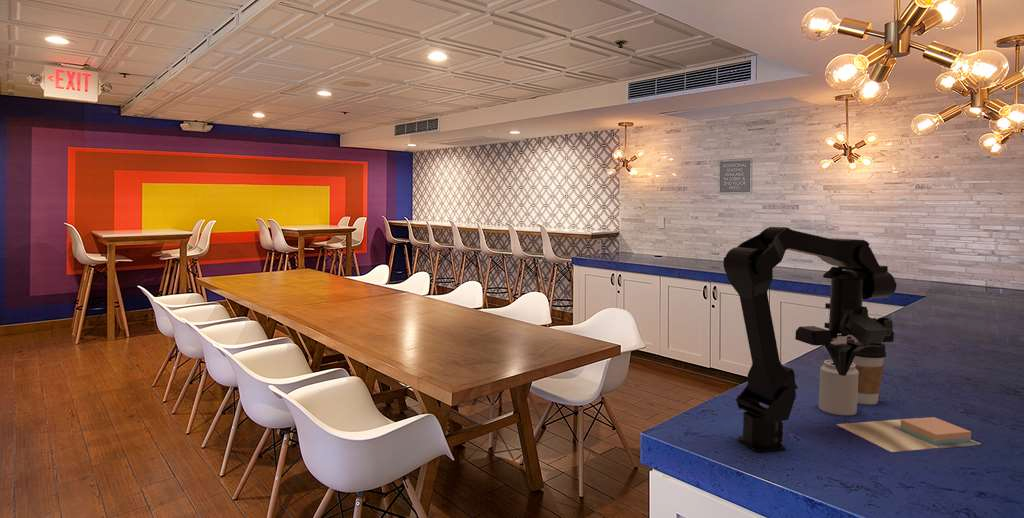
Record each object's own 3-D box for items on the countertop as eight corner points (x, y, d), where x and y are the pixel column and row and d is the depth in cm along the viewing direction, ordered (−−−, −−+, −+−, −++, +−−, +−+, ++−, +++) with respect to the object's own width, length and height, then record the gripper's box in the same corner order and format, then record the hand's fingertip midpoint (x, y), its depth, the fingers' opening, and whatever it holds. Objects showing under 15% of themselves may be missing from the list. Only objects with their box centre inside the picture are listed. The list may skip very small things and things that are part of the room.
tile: (936, 434, 110) (971, 431, 112) (900, 419, 118) (934, 417, 120) (935, 444, 110) (970, 441, 112) (900, 429, 118) (933, 426, 120)
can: (822, 406, 136) (824, 356, 135) (859, 413, 131) (861, 361, 130) (814, 415, 130) (817, 362, 129) (853, 423, 125) (855, 368, 124)
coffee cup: (876, 413, 131) (879, 348, 130) (835, 404, 137) (839, 342, 136) (888, 405, 136) (891, 342, 135) (849, 396, 143) (852, 336, 141)
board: (893, 459, 107) (893, 452, 107) (835, 429, 121) (836, 423, 121) (983, 450, 111) (983, 444, 111) (917, 423, 125) (917, 417, 125)
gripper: (834, 308, 108) (830, 390, 110) (919, 305, 112) (914, 384, 113) (795, 299, 119) (792, 373, 121) (873, 296, 123) (869, 368, 124)
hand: (842, 375), depth 119 cm, fingers closed
